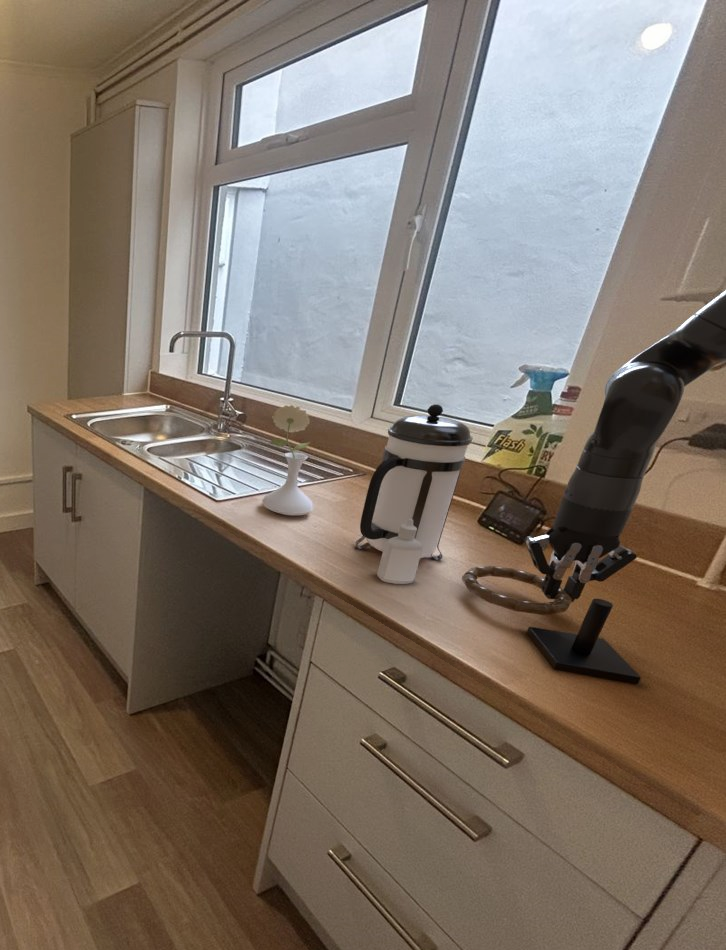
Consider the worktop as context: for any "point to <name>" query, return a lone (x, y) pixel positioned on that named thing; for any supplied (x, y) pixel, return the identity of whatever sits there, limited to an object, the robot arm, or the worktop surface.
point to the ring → (546, 608)
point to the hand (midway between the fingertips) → (558, 597)
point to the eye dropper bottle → (401, 556)
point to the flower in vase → (290, 465)
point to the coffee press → (415, 480)
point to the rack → (584, 648)
